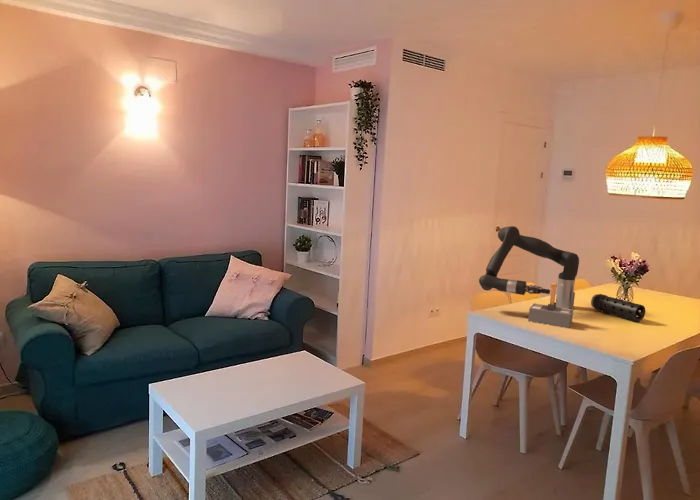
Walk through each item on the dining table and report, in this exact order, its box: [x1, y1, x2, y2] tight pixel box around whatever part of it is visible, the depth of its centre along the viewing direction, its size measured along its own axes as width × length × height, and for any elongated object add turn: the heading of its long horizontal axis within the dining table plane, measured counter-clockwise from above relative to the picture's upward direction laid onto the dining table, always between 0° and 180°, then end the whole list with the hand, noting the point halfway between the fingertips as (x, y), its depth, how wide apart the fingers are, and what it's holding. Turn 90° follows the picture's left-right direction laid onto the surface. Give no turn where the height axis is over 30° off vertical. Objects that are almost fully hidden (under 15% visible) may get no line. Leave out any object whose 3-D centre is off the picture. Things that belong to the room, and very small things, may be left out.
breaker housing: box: [527, 301, 574, 329], centre depth 275 cm, size 20×14×10 cm
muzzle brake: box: [590, 293, 646, 323], centre depth 295 cm, size 10×28×10 cm, turn 27°
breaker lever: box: [549, 282, 558, 305], centre depth 274 cm, size 2×5×13 cm, turn 150°
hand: (549, 291), depth 274 cm, fingers closed
